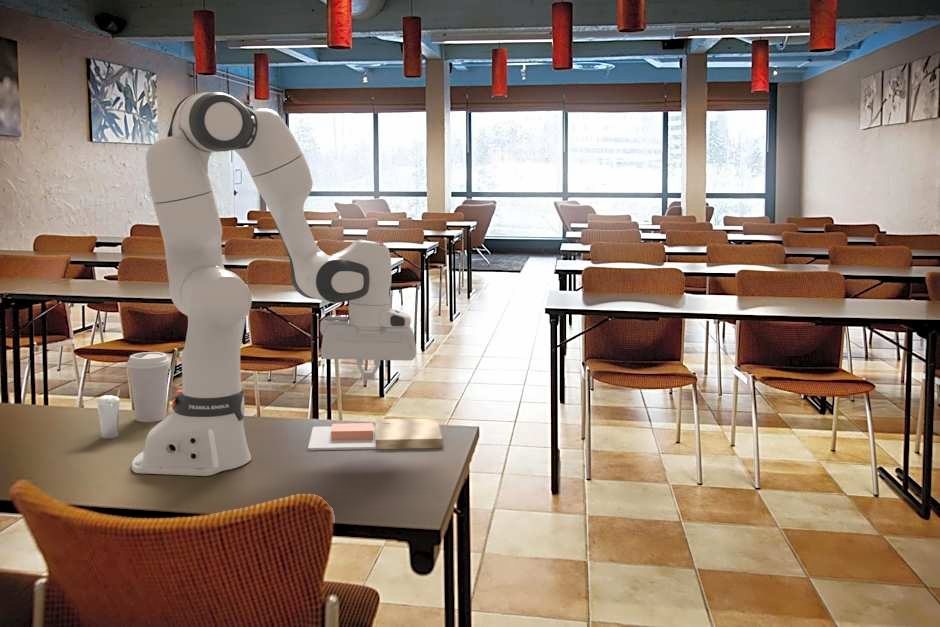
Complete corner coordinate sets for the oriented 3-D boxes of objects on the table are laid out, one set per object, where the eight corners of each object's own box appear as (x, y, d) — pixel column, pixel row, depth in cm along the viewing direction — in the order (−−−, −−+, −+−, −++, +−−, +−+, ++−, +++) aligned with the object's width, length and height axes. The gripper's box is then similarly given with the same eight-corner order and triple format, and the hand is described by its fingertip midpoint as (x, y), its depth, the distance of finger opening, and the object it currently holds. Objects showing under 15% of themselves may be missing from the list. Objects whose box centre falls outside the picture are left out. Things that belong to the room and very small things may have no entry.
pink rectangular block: (330, 440, 194) (330, 431, 194) (332, 432, 200) (332, 423, 200) (373, 439, 195) (373, 430, 195) (373, 431, 201) (373, 423, 201)
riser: (375, 449, 190) (375, 439, 190) (375, 427, 206) (375, 419, 206) (442, 447, 192) (442, 438, 192) (437, 426, 208) (437, 418, 207)
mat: (308, 450, 189) (308, 448, 189) (313, 428, 205) (313, 426, 205) (375, 449, 190) (375, 446, 190) (375, 427, 206) (375, 425, 206)
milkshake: (128, 435, 198) (126, 390, 197) (107, 440, 194) (105, 395, 192) (115, 431, 201) (113, 387, 199) (94, 437, 196) (91, 392, 195)
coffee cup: (149, 411, 218) (146, 349, 215) (181, 415, 214) (178, 353, 212) (119, 421, 209) (116, 357, 207) (152, 426, 205) (149, 361, 203)
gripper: (319, 317, 190) (318, 382, 192) (417, 319, 192) (415, 383, 194) (321, 313, 196) (320, 375, 198) (416, 315, 198) (414, 377, 200)
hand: (368, 379), depth 196 cm, fingers closed
